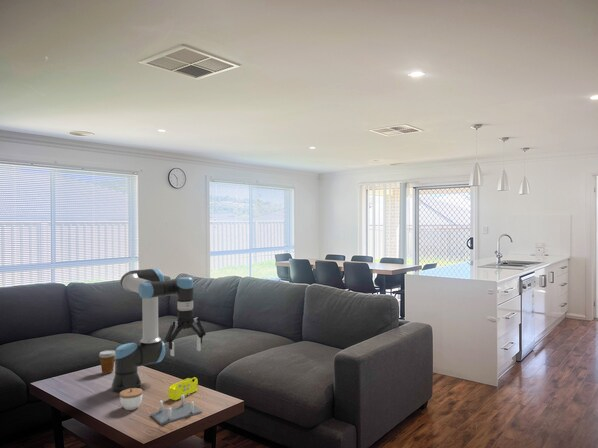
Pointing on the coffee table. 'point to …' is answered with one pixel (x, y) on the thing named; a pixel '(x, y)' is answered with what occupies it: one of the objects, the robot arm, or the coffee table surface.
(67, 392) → the coffee table surface
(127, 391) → the lidded jar
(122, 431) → the coffee table surface
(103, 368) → the disposable coffee cup
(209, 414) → the coffee table surface
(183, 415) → the pin tray
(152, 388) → the coffee table surface
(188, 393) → the yellow toy chassis
